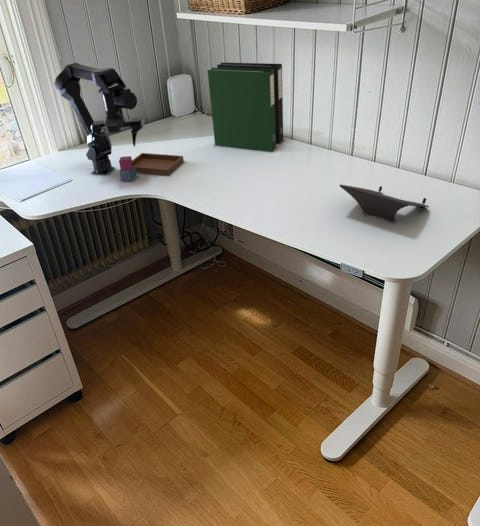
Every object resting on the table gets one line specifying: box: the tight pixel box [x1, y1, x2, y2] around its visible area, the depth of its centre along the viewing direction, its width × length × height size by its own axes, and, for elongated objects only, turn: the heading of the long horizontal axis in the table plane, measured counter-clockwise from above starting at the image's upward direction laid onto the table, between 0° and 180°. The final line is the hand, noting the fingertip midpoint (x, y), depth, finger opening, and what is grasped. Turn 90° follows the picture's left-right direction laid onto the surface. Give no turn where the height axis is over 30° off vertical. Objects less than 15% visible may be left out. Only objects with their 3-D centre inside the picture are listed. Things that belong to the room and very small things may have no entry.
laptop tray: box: [339, 184, 430, 223], centre depth 154 cm, size 23×23×9 cm
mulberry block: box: [118, 155, 133, 170], centre depth 188 cm, size 4×4×4 cm
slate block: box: [118, 166, 138, 182], centre depth 191 cm, size 4×4×4 cm
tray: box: [132, 152, 185, 177], centre depth 199 cm, size 19×14×3 cm
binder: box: [206, 62, 284, 153], centre depth 206 cm, size 27×15×32 cm, turn 66°
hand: (122, 147), depth 185 cm, fingers open, 9 cm apart
